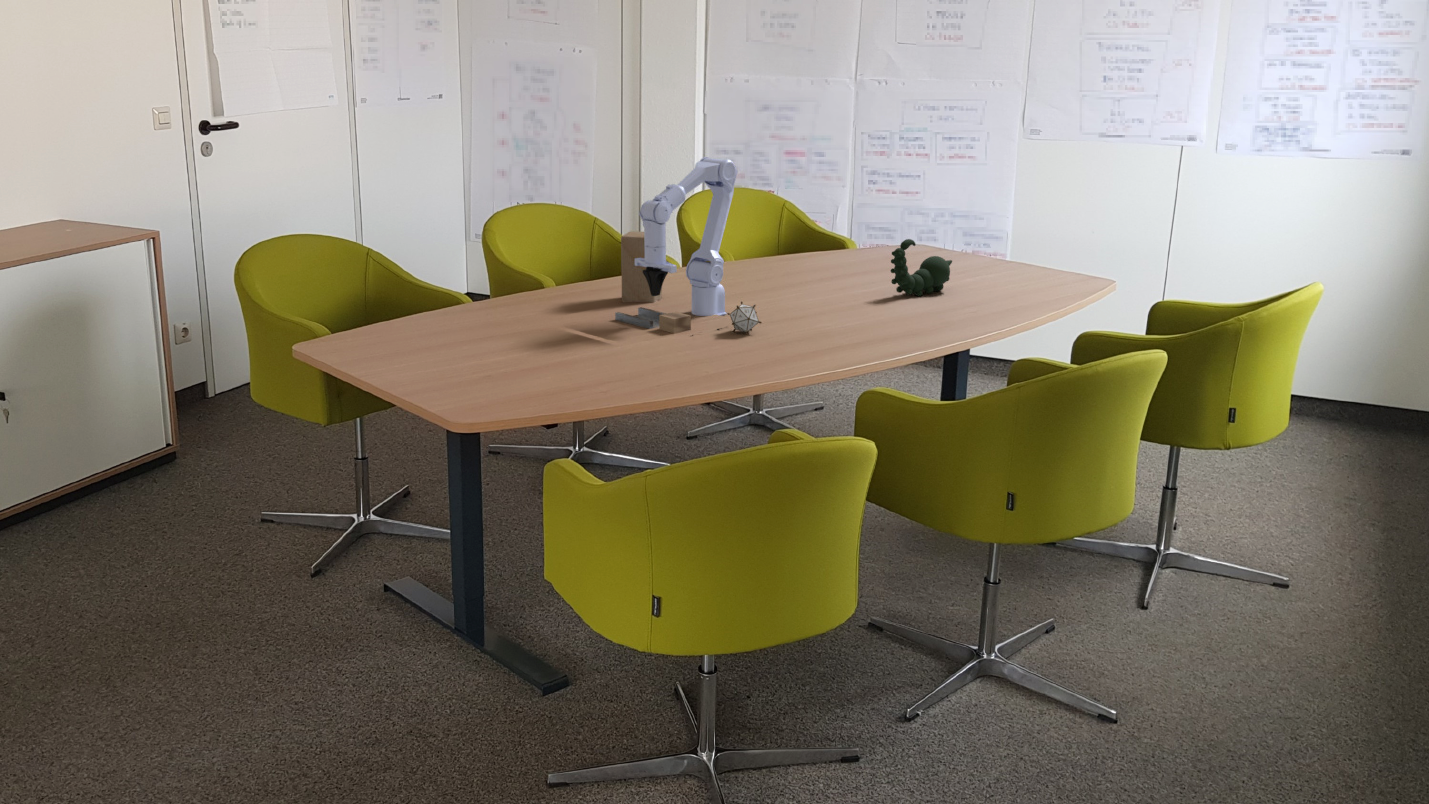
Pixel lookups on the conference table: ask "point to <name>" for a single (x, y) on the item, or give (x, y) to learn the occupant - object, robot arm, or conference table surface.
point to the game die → (744, 318)
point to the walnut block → (675, 322)
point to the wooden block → (634, 270)
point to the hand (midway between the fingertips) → (655, 295)
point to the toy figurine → (919, 272)
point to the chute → (641, 318)
